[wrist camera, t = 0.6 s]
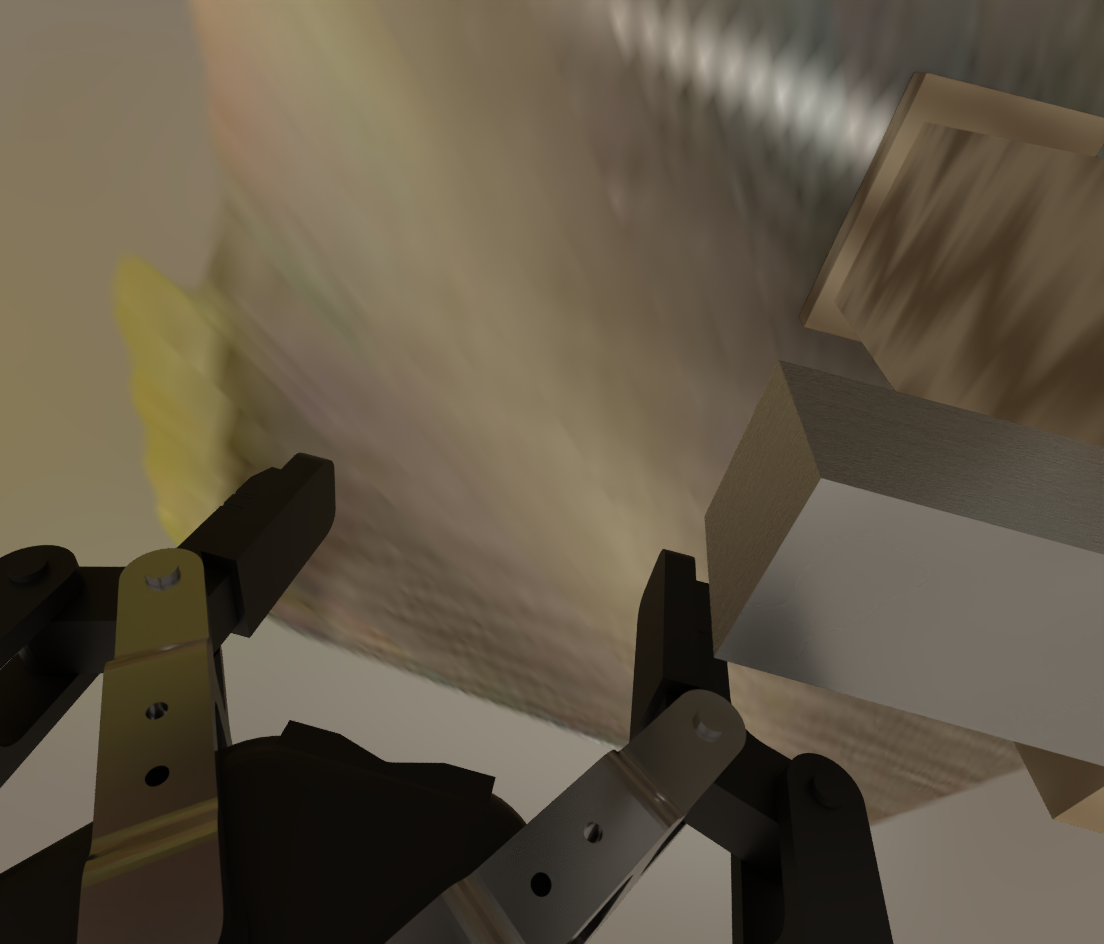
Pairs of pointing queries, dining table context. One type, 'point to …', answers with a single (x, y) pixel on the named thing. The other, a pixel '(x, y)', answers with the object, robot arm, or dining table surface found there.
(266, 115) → the dining table surface
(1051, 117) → the stand
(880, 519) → the grey elongated piece
